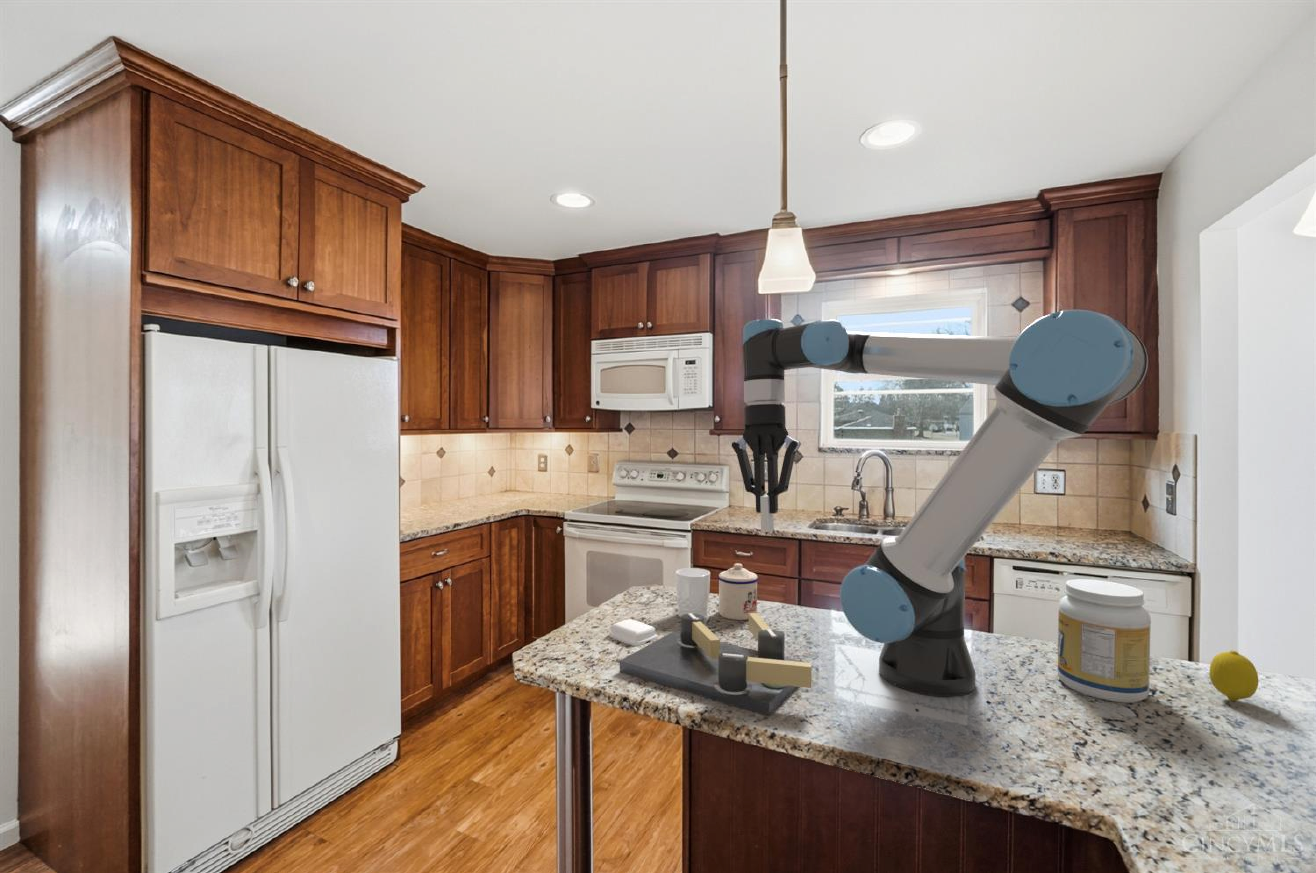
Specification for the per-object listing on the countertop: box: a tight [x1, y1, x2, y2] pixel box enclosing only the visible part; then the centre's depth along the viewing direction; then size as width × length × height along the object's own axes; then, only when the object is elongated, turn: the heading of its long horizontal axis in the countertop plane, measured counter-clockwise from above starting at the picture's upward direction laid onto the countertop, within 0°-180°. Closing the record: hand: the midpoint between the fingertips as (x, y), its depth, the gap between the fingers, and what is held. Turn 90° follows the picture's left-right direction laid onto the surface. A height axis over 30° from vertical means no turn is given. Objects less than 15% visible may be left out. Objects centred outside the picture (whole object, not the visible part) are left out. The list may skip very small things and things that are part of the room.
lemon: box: [1209, 650, 1259, 702], centre depth 93 cm, size 6×6×8 cm
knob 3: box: [718, 651, 812, 691], centre depth 92 cm, size 14×5×5 cm, turn 76°
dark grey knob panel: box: [619, 630, 810, 717], centre depth 102 cm, size 28×19×2 cm
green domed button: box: [763, 683, 787, 688], centre depth 94 cm, size 4×4×1 cm
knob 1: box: [679, 613, 721, 659], centre depth 107 cm, size 14×5×5 cm, turn 16°
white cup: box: [675, 567, 711, 619], centre depth 134 cm, size 8×8×10 cm
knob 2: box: [748, 612, 786, 660], centre depth 108 cm, size 14×5×5 cm, turn 6°
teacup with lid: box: [717, 562, 759, 621], centre depth 136 cm, size 12×9×12 cm
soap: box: [608, 618, 658, 647], centre depth 120 cm, size 9×7×3 cm
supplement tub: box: [1056, 578, 1152, 703], centre depth 97 cm, size 12×12×17 cm
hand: (767, 530), depth 109 cm, fingers closed
